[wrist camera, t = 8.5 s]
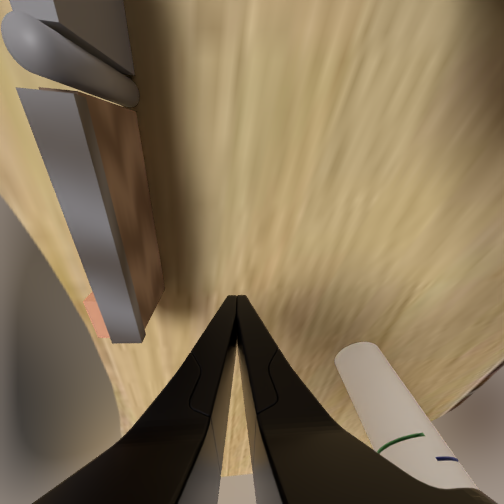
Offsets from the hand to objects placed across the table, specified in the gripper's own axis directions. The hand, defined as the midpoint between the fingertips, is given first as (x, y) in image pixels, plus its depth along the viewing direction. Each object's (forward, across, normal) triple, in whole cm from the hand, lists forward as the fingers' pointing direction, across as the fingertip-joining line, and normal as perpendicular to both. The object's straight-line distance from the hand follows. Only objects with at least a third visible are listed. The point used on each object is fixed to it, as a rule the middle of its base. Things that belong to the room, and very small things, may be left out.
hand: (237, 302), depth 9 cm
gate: (+11, +8, 0) cm, 14 cm away
